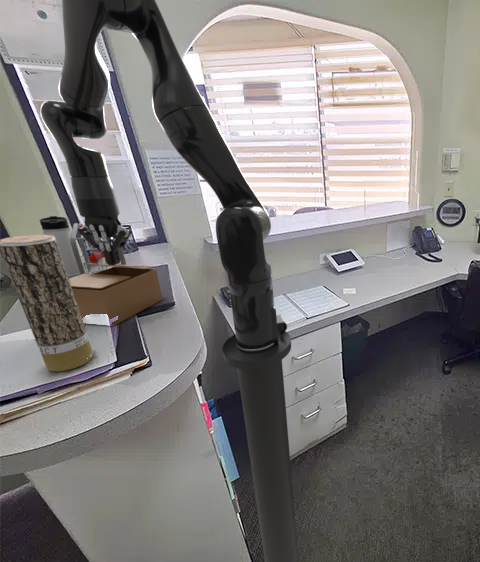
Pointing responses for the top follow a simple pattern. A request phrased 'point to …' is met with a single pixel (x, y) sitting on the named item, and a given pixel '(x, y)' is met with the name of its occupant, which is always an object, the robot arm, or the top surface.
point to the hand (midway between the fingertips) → (113, 264)
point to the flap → (120, 265)
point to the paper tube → (47, 300)
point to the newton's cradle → (78, 258)
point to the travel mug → (61, 241)
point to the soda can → (89, 251)
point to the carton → (116, 292)
